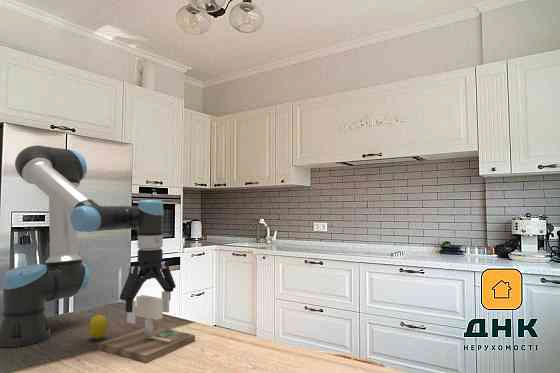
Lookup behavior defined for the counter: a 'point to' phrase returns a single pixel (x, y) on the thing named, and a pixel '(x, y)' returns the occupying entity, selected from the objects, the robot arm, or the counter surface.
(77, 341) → the counter surface
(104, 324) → the lemon
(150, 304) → the white stand
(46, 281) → the robot arm
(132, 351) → the wooden cutting board
